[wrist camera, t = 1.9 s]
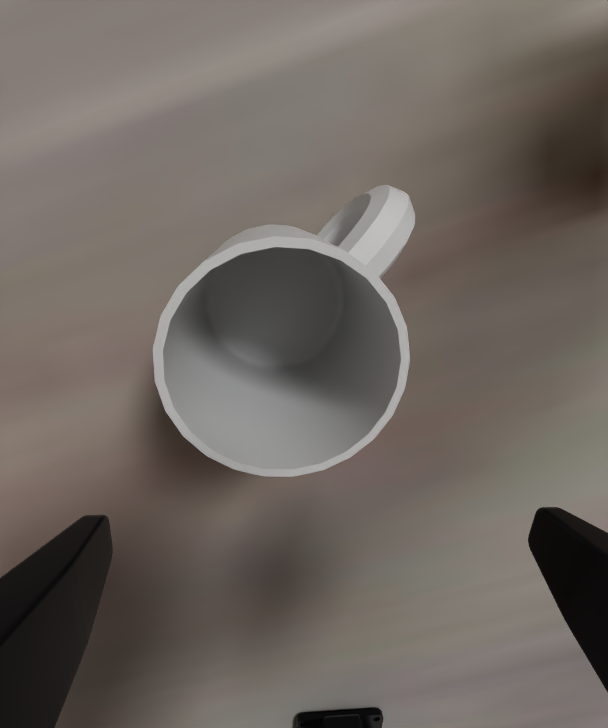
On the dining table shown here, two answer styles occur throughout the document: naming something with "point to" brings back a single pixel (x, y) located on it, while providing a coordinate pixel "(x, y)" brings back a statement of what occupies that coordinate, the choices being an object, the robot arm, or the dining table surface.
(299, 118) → the dining table surface
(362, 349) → the cup
